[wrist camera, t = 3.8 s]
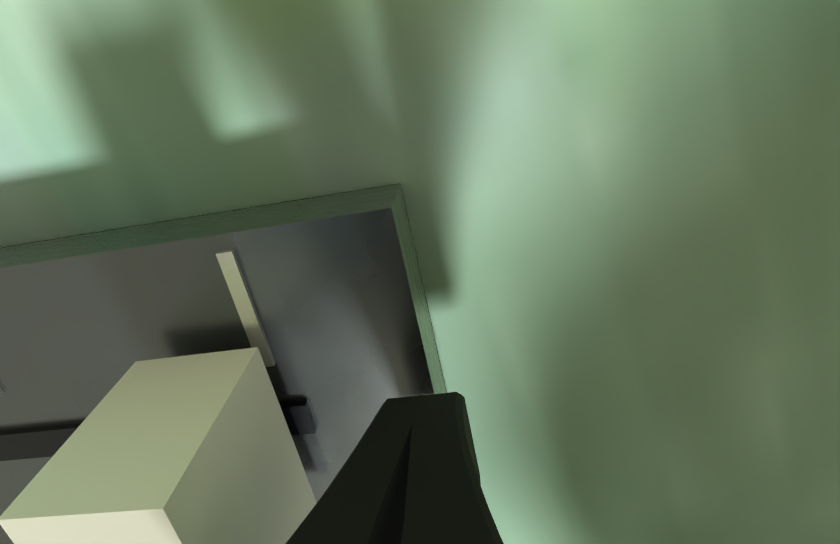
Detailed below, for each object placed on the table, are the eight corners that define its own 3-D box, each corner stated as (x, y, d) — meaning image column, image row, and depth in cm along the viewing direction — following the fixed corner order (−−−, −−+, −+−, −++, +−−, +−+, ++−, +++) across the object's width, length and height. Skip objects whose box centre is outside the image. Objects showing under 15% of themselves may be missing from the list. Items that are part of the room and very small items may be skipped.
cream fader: (260, 346, 10) (146, 542, 7) (320, 507, 12) (255, 730, 9) (133, 361, 11) (-37, 554, 7) (209, 514, 13) (102, 729, 9)
